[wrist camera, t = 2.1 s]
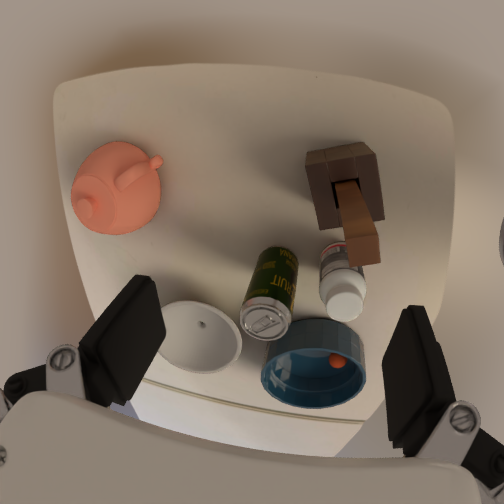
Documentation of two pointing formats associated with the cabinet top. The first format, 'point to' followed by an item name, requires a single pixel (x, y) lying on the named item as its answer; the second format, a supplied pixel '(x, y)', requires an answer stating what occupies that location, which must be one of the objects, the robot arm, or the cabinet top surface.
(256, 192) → the cabinet top surface
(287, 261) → the green drink can
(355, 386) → the bowl
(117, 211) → the pink teapot
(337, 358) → the ball
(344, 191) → the brown wooden stick
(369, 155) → the stick stand
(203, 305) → the dish
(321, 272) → the pill bottle
